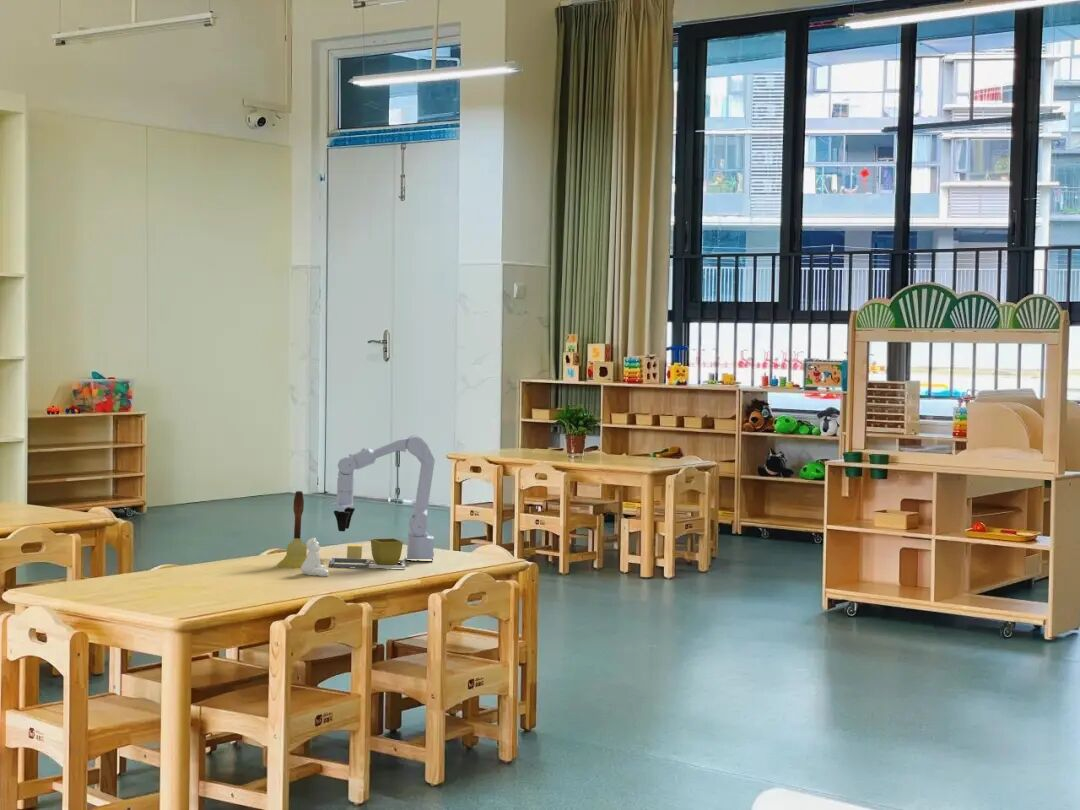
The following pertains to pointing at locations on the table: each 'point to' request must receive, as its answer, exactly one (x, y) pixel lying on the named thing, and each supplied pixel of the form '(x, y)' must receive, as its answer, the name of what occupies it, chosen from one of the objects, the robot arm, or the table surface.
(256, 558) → the table surface
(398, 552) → the flower pot
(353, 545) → the ochre block
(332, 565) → the sorting board
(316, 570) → the white creature statuette
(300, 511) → the handbell
